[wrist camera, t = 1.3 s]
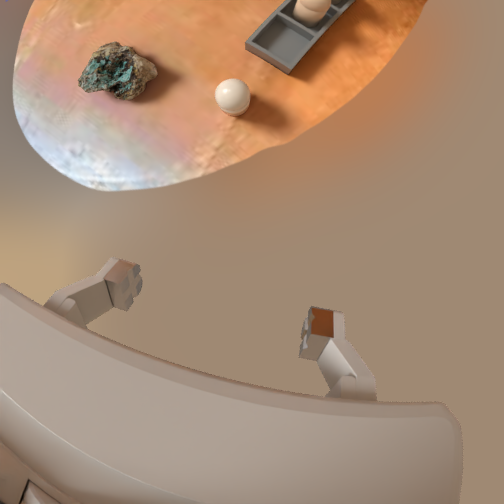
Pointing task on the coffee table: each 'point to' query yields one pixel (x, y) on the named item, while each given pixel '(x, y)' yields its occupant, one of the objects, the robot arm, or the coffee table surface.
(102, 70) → the mineral specimen
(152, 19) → the coffee table surface
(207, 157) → the coffee table surface
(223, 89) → the cream round-topped peg
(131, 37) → the coffee table surface
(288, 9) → the carton
